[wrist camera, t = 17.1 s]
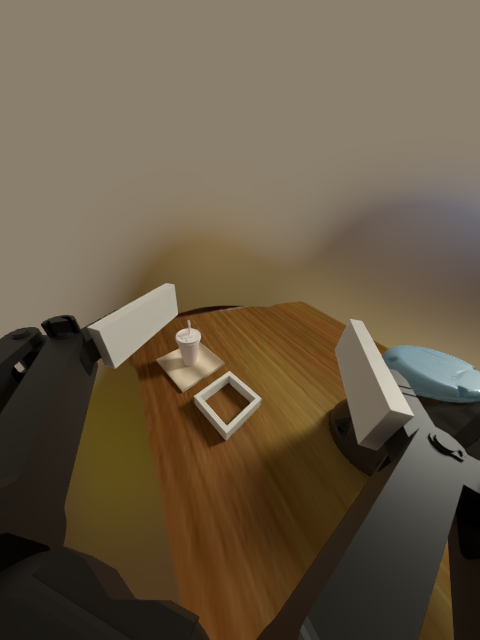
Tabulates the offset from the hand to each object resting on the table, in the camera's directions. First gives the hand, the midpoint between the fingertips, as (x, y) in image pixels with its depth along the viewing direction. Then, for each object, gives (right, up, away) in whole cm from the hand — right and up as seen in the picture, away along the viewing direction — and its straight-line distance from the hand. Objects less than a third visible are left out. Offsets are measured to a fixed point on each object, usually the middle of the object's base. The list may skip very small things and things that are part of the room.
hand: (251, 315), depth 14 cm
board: (-15, -13, +39) cm, 44 cm away
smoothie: (-15, -13, +39) cm, 44 cm away
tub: (-4, -21, +29) cm, 36 cm away
